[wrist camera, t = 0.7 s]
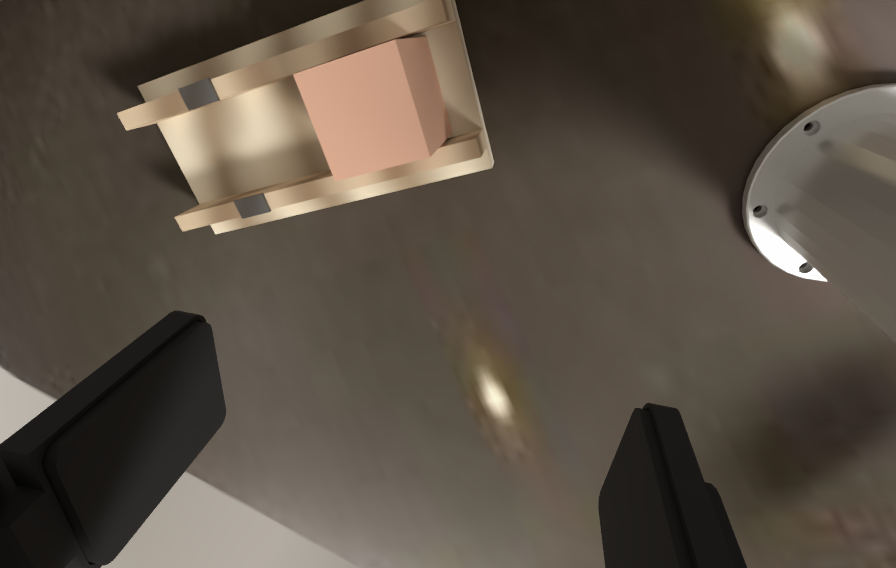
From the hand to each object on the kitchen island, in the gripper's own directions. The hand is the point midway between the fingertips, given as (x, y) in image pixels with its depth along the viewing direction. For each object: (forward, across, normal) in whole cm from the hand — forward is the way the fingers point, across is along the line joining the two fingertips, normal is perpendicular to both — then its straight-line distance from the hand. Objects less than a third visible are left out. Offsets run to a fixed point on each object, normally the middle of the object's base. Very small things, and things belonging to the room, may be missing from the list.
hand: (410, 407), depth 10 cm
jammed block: (+25, +7, -2) cm, 26 cm away
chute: (+27, +14, 0) cm, 30 cm away
